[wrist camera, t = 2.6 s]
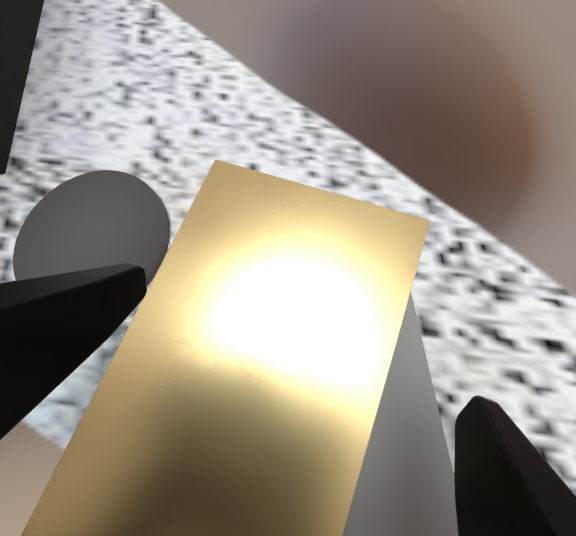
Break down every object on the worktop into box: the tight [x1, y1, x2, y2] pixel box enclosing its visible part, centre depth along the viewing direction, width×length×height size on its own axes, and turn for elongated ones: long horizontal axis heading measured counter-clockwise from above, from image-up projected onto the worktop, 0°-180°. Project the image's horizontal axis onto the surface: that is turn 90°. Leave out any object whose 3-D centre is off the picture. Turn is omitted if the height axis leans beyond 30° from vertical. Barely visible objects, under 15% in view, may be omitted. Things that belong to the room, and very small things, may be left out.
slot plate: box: [342, 291, 458, 536], centre depth 12 cm, size 18×11×2 cm, turn 6°
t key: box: [21, 160, 430, 536], centre depth 9 cm, size 6×4×11 cm, turn 159°
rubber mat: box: [13, 170, 169, 286], centre depth 17 cm, size 9×9×1 cm
